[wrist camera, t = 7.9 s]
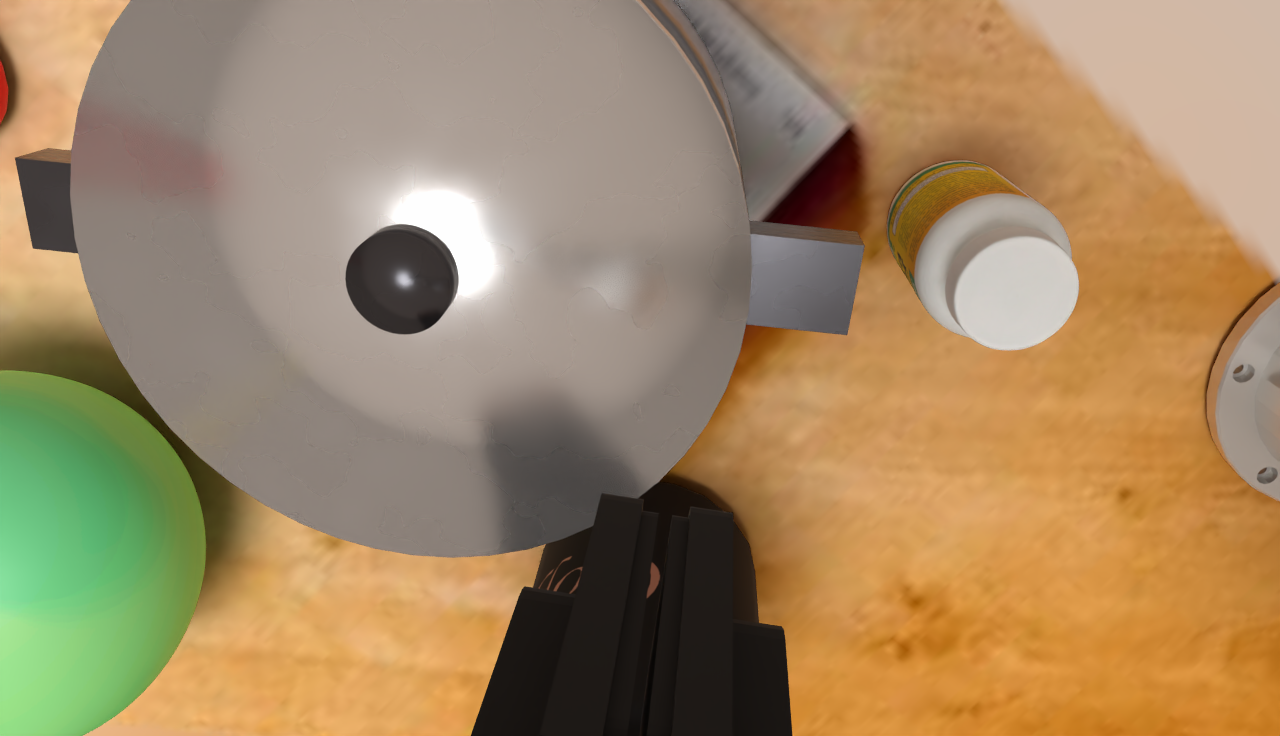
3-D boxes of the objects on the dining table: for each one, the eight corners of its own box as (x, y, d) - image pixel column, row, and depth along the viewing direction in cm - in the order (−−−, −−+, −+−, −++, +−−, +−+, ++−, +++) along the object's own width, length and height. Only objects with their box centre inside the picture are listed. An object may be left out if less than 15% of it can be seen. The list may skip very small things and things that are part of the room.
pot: (862, -52, 34) (933, -57, 23) (782, 415, 43) (807, 571, 32) (165, -117, 35) (-80, -153, 24) (220, 354, 43) (55, 486, 32)
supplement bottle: (1041, 202, 38) (1140, 274, 29) (955, 303, 40) (1025, 399, 31) (939, 130, 37) (1010, 183, 28) (857, 237, 39) (900, 317, 30)
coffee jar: (661, 429, 43) (633, 712, 27) (796, 574, 46) (844, 909, 30) (503, 543, 47) (393, 857, 30) (637, 671, 50) (603, 1021, 33)
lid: (799, -70, 23) (808, -73, 21) (708, 563, 32) (708, 608, 29) (44, -142, 24) (-23, -152, 22) (148, 499, 32) (106, 538, 30)
